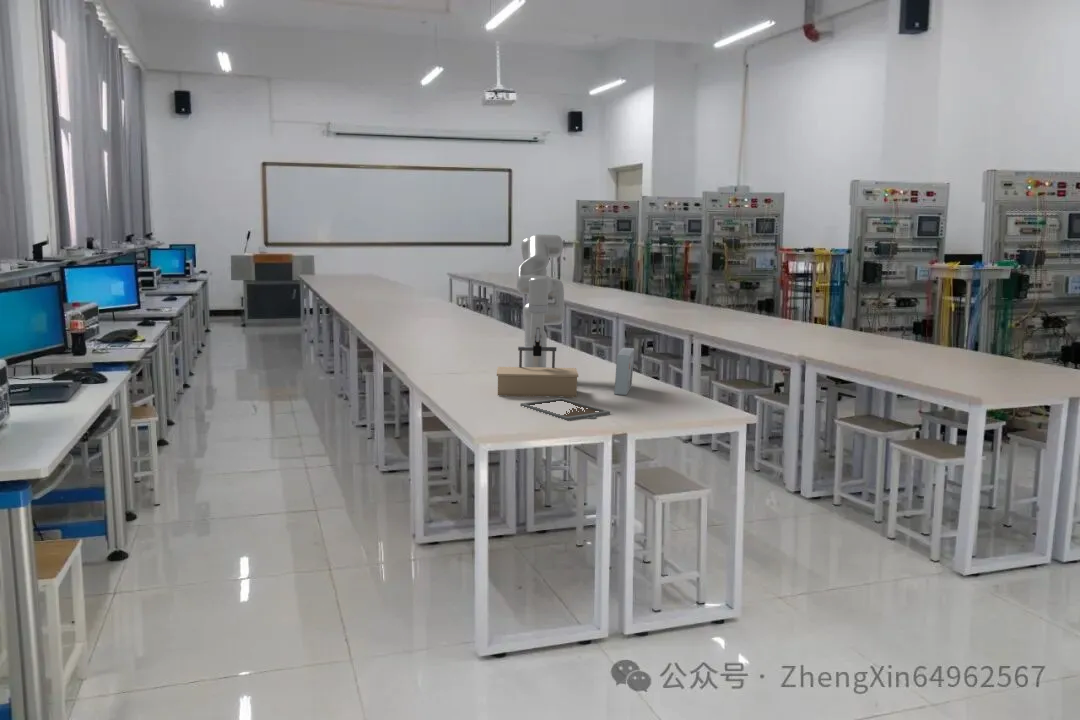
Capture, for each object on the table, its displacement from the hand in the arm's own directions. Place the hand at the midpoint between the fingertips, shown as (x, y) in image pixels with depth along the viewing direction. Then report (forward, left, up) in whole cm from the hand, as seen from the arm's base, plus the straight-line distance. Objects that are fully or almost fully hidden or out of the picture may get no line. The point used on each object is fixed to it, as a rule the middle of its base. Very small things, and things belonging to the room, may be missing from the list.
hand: (537, 355), depth 338 cm
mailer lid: (+7, 0, -6) cm, 9 cm away
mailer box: (+7, 0, -14) cm, 16 cm away
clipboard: (+38, +10, -15) cm, 42 cm away
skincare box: (-2, +35, -14) cm, 38 cm away
